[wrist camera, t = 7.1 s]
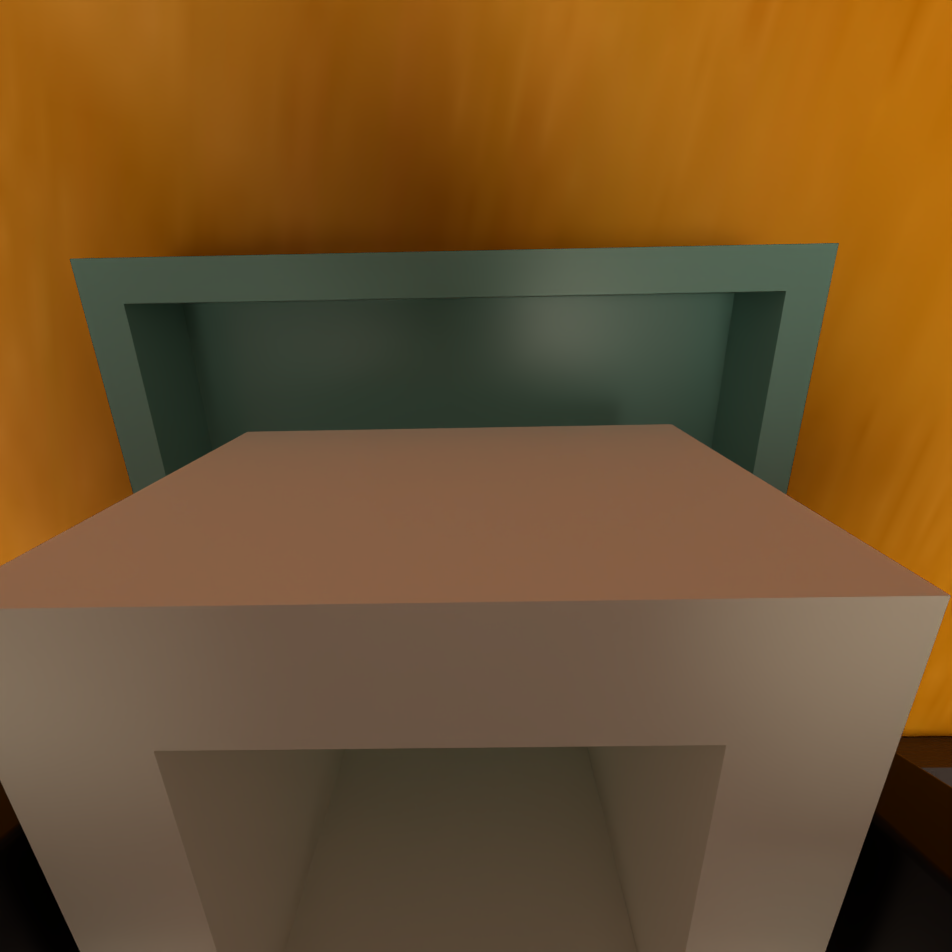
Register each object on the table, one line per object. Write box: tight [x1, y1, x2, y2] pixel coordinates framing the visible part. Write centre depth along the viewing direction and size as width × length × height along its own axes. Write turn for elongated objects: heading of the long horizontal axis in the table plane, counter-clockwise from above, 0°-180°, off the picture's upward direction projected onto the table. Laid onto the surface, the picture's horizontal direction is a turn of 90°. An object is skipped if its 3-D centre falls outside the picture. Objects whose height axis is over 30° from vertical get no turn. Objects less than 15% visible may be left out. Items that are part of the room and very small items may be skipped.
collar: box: [0, 424, 950, 952], centre depth 7 cm, size 7×7×5 cm
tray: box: [70, 243, 839, 494], centre depth 11 cm, size 12×12×2 cm
